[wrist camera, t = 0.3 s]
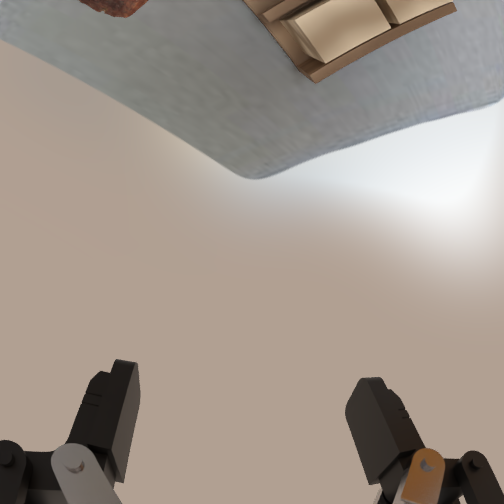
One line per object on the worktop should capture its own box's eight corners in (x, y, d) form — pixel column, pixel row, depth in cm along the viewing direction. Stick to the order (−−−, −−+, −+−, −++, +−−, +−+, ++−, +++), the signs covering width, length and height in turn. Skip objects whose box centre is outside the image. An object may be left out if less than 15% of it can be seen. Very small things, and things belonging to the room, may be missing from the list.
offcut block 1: (279, 20, 26) (294, 20, 20) (334, -10, 23) (364, -16, 17) (304, 53, 28) (325, 63, 22) (357, 23, 26) (391, 28, 20)
